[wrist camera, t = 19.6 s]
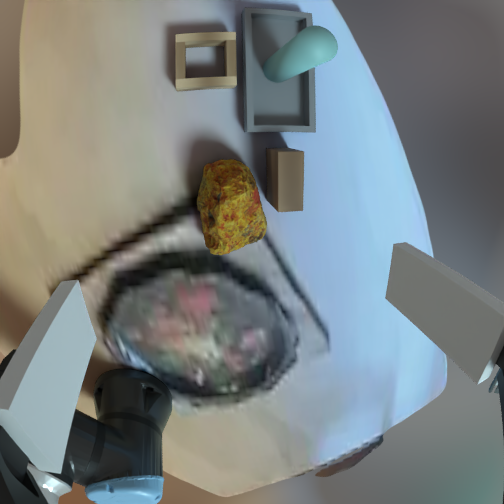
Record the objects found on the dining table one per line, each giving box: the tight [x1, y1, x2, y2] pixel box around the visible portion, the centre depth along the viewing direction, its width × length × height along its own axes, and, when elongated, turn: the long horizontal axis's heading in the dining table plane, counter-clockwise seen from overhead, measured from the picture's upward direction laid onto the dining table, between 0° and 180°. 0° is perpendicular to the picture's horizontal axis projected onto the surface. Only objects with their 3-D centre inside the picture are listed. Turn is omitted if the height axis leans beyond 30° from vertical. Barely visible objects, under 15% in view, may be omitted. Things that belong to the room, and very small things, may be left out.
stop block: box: [266, 148, 304, 212], centre depth 37 cm, size 3×7×6 cm, turn 1°
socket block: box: [175, 32, 237, 91], centre depth 31 cm, size 7×7×3 cm
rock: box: [197, 159, 267, 255], centre depth 38 cm, size 11×8×10 cm
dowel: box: [263, 26, 338, 83], centre depth 27 cm, size 4×4×14 cm
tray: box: [242, 8, 316, 132], centre depth 33 cm, size 9×17×2 cm, turn 1°
